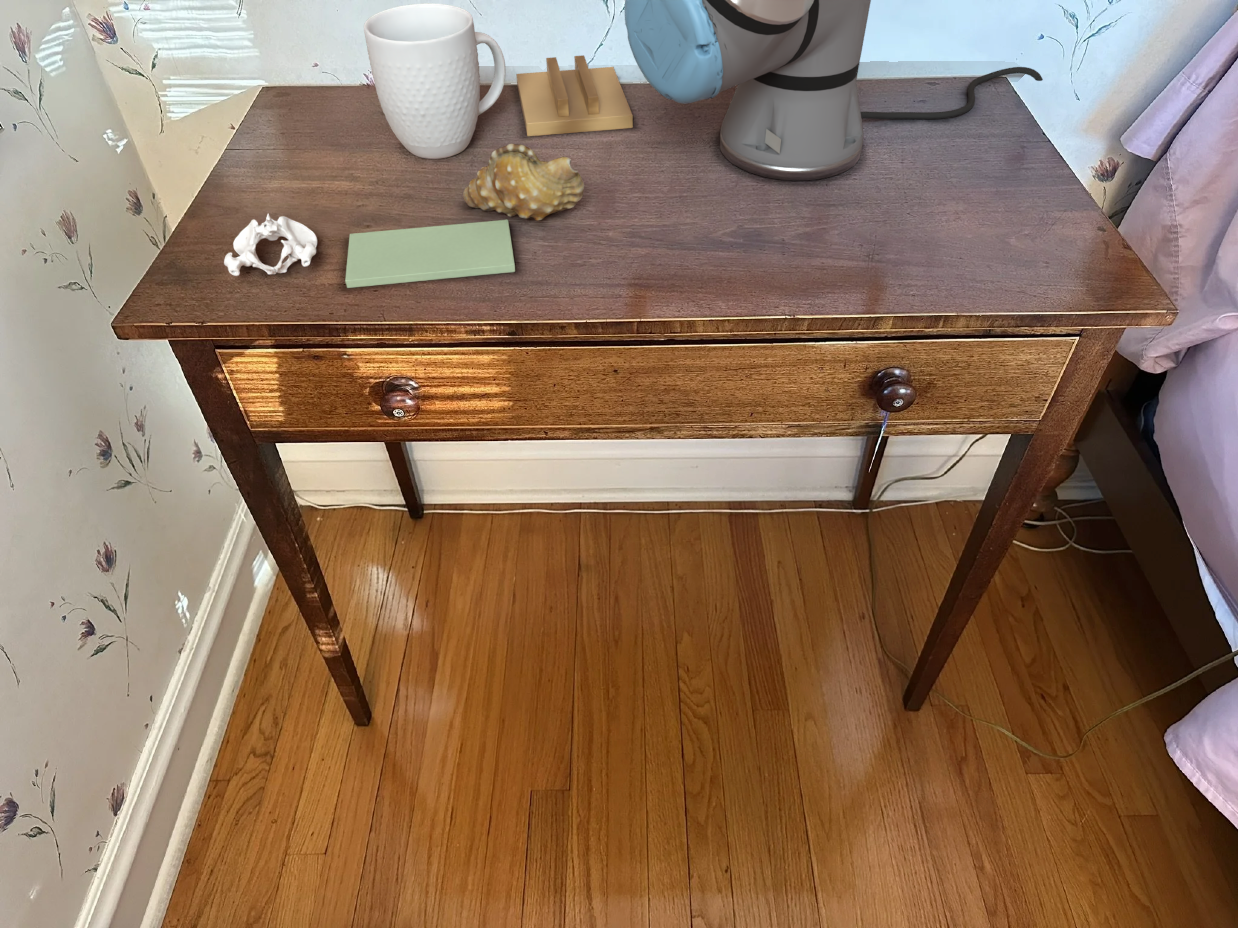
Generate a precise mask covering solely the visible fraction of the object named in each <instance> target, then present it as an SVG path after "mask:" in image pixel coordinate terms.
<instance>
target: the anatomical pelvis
mask: <svg viewBox="0 0 1238 928" xmlns="http://www.w3.org/2000/svg"><path fill="white" fill-rule="evenodd" d="M265 218H266V219H265V221H264V222H261V224H260V225H259V221H257V220H256V219H251V221H250V222H249V223H248V225H247V226H245V227H244V228H243V229H242V230H241V231H240V232H239V233H238V235H237V236H236V237H235V238H234V240H233V243H232V245H233V249H234V251H235V253H236V254H238V255H239V256H237V257H236V256H235V257H233V252H228V253H226V255H225V257H224V259H223V265H224V266H225V267H227V271H228V273H229V274H230V275H232V276H234V277H238V276H240V274H241V272H240V270H241V267H243V266H244V267H251V266H252V268H257V269H261V270H263V271H264V272H266V273H267V275H276V274H283V273H287V272H288V268H289V267H290V266H291V265H292V264H293V263H295V262H298V260H301V265H302V267H309V266H310V264H311V261H312V258H313V257H314V256H315V255H316V254H317V246H318V237H317V235H316V233H315V232H314V231H312V230H311V229H310V228H309V227H308V226H306V225H304V224H303V223H301V222H299V221H296V220H294V219H292V218H289V217H287V216H285V215H282V216H281V215H280V216H279V217H278V219H277V220H275V219H273V218H272V217H271V216H270V213H267V215H266V217H265ZM280 237H283V238H285V239H287V240H283V239H281V240H280V243H282V245H283V247H282V250H281V253H280V258H279V261H278V263H277V264H276V265H275V266H271V265H268V264H264V263H262V261H261V260H260V258H259V256H258V254H257V251H256V247H257V244H258V243H259V242H260V241H262V240H263V239H267V240H268V241H277V240H278V239H279V238H280ZM287 256H288V258H287V259H286V261H284V259H285V258H286V257H287ZM283 261H284V262H283Z"/></svg>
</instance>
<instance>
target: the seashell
mask: <svg viewBox="0 0 1238 928" xmlns="http://www.w3.org/2000/svg"><path fill="white" fill-rule="evenodd" d="M571 164H572V159H571V158H570V157H566V156H560V157H558V158H554V159H552V160H550V161H549V160H548V161H546V160H545V161H544V160H540V159H539V157H538V156H537V154H536V153H535V151H534V150H533V149H532V148H530V147H529V146H526V145H524V144H521V143H520V144H518V143H509V144H507V145H503V146H501V147H499V148H496V149H494V150H493V151H492V152H491V154H490V157H489V159H488V163H487V166H482V167H481V168H480V169H479V170H478V171H477V172H476V175H477V176H476V177H475V178H472V179H471V180H470V181H469V183H468V186H465V188H464V189H463V192H462V198H463V201H464V202H465V203H466V205H467V206H468V207H469V208H473V209H474V208H475V209H481V211H485V212H492V211H496V212H497V213H499V214H501V213H503V214H504V215H506V216H507V217H510V218H512V217H515V216H517V215H518V217H519V218H521V219H526V220H528V219H529V218H533V219H534V220H535V221H542V220H544V219H545V217H547V216H549V215H551V214H555V213H558V212H563V211H565V210H568V209H573V208H574V207H575V206H576V205H577V204H578V202H580V200H582V198H583V196H584V191H585V189H584V188H585V183H584V180H583V179H582V177H581V175H580V173H579V171H578V169H575V170H574V169H573V168H572V166H571Z"/></svg>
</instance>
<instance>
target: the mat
mask: <svg viewBox="0 0 1238 928" xmlns="http://www.w3.org/2000/svg"><path fill="white" fill-rule="evenodd" d="M515 272H516V265H515V258H514V251H513V243H512V237H511V230H510V224H509V219H499V220H487V221H478V222H477V221H476V222H466V223H456V224H455V223H454V224H445V225H444V224H443V225H434V226H433V225H432V226H422V227H412V228H410V227H409V228H400V229H388V230H377V231H366V232H359V233H358V232H357V233H356V232H355V233H349V237H348V247H347V260H346V269H345V280H344V282H345V285H346V289H353V288H363V287H373V286H385V285H393V284H403V283H405V284H406V283H415V282H423V281H424V282H425V281H436V280H446V279H455V278H466V277H476V276H487V275H496V274H497V275H498V274H507V273H508V274H509V273H515Z"/></svg>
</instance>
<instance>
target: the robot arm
mask: <svg viewBox="0 0 1238 928" xmlns="http://www.w3.org/2000/svg"><path fill="white" fill-rule="evenodd" d="M871 2H872V0H624V24H625V27H626V31H627V41H628V44H629V47H630V50H631V53H632V55H633V59H634V60H635V63H636V64H637V66H638V69H639V70H640V72H641V74H642V76H644V78H645V80H646V81H647V82H648V83H649V85H650V86H651V87H652V88H653V89H654V90H655V91H656V92H657V93H658V94H659V95H661V96H662V97H664V98H665V99H667V100H669V101H670V100H671V101H674V102H675V103H677V104H683V105H684V104H693V103H695V102H700V101H702V100H712V99H714V98H716V96H718V94H720V93H722V92H725V91H727V90H729V89H731V88H732V89H733V88H734V87H736V88H735V91H734V93H733V95H732V99H731V101H730V103H729V105H728V108H727V111H726V113H725V115H724V118H723V119H722V123H721V127H720V134H719V135H720V136H719V149H720V152H721V154H722V155H723V156H724V158H725V159H726V160H727V161H729V162H730V163H731V164H732V165H734V166H735V167H738V168H739V169H740V170H743V171H745V172H748V173H751V174H754V175H756V176H760V177H765V178H769V179H773V180H783V181H814V180H822V179H827V178H830V177H834V176H838V175H840V174H842V173H845V172H846V171H848V170H850V169H852V168H853V167H854V166H856V164H857V163H858V162H859V160H860V158H861V155H862V149H863V144H864V128H863V120H864V119H865V120H866V119H867V120H868V119H869V120H940V119H949V118H954V117H959V116H962V115H964V114H966V113H969V112H970V111H971V110H972V109H973V108H974V106H975V104H976V103H975V102H976V94H975V88H976V87H977V86H978V85H981V84H982V83H984V82H987V81H990V80H993V79H997V78H999V77H1003V76H1008V75H1012V74H1013V75H1015V74H1021V75H1027V76H1029V77H1031V78H1033V79H1034V80H1035V81H1036V82H1042V81H1044V79H1043V76H1042V75H1041V74H1040V73H1039V72H1038V71H1037V70H1036V69H1034V68H1031V67H1026V66H1013V67H1007V68H1006V67H1005V68H1002V69H999V70H995V71H992V72H989V73H986V74H983V75H981V76H979V77H976V78H974V79H973V80H972V81H970V83H969V84H968V86H967V103H966V104H965V105H964V106H962V107H959V108H957V109H951V110H945V111H927V112H926V111H924V112H922V111H921V112H919V111H861V106H860V105H861V104H860V99H859V91H858V84H857V79H858V74H859V73H858V72H859V68H860V62H861V57H862V51H863V46H864V41H865V35H866V31H867V30H866V29H867V24H868V19H869V12H870V8H871ZM862 119H863V120H862Z"/></svg>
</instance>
